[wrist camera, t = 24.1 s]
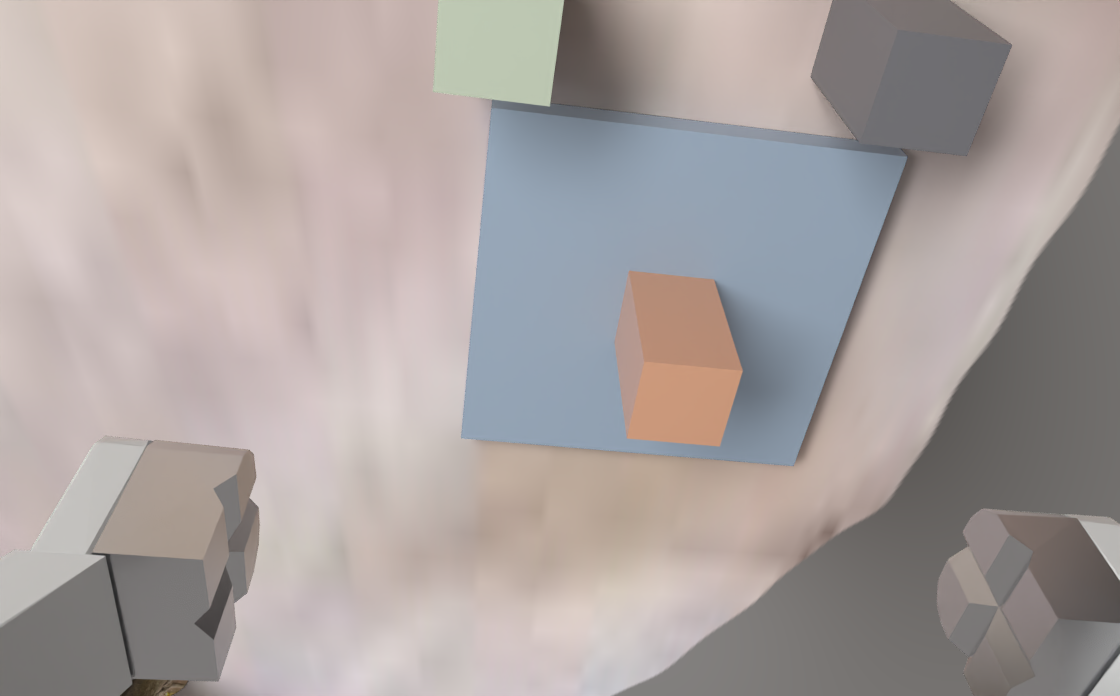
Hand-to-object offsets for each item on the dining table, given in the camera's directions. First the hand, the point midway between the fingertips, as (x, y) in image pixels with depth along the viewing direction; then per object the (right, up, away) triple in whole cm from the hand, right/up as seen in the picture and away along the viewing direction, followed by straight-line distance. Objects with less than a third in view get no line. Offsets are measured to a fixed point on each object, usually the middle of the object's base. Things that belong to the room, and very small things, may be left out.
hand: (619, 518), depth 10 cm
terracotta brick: (+5, +4, +38) cm, 39 cm away
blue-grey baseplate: (+5, +5, +40) cm, 40 cm away
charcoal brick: (+14, +16, +32) cm, 38 cm away
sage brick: (-3, +18, +30) cm, 35 cm away
